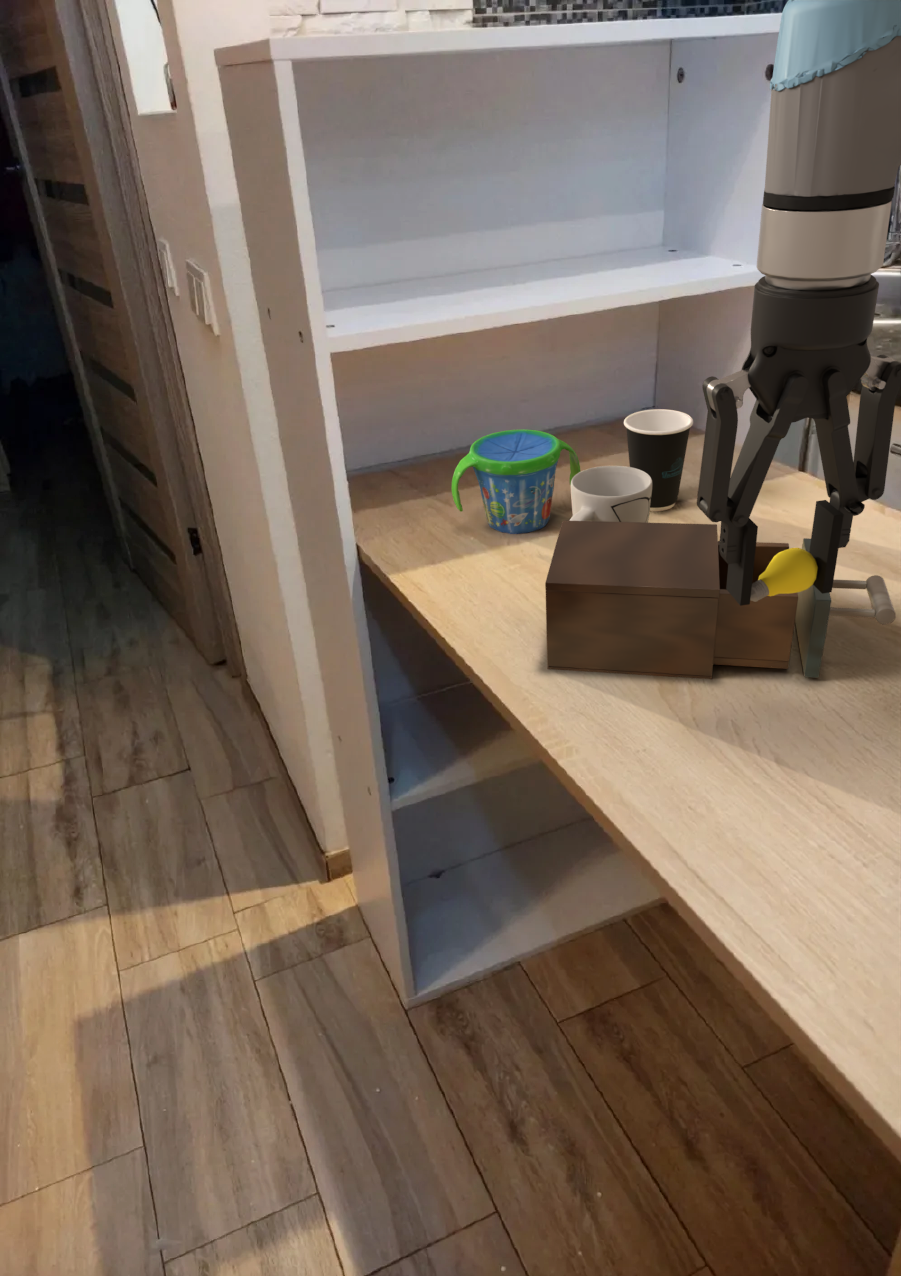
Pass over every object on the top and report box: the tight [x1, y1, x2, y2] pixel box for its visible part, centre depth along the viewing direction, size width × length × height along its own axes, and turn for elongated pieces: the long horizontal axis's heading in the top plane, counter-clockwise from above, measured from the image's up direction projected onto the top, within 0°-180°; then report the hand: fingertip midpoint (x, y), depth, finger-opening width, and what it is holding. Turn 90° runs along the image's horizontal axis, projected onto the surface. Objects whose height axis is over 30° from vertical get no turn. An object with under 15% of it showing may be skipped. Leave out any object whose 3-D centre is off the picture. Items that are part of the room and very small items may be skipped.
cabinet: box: [544, 520, 720, 680], centre depth 86 cm, size 15×13×10 cm
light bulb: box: [750, 547, 818, 602], centre depth 71 cm, size 3×6×4 cm, turn 111°
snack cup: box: [451, 429, 582, 535], centre depth 110 cm, size 16×10×10 cm
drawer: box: [713, 537, 897, 679], centre depth 84 cm, size 19×11×8 cm, turn 77°
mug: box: [568, 465, 652, 523], centre depth 99 cm, size 11×8×10 cm
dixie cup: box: [623, 408, 694, 512], centre depth 111 cm, size 8×8×11 cm
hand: (778, 590), depth 71 cm, fingers closed on light bulb, 6 cm apart
